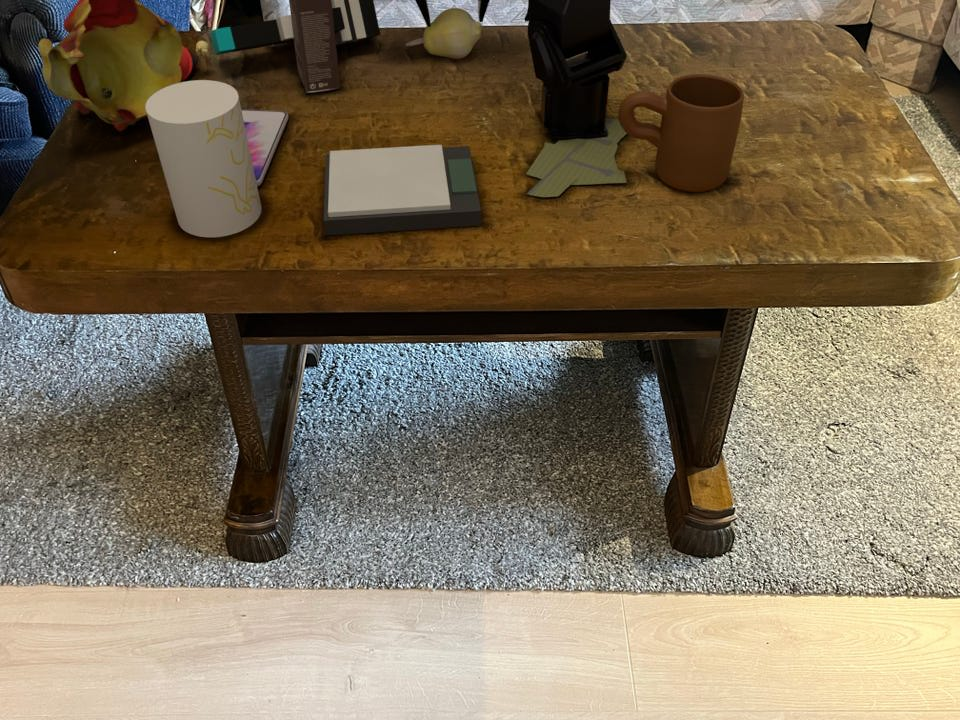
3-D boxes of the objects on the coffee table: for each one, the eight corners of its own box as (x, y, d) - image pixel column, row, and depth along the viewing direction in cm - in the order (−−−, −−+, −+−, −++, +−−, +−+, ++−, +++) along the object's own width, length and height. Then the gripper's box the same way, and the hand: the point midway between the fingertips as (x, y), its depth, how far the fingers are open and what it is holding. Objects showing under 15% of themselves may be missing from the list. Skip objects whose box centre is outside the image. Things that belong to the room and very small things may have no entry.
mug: (613, 193, 90) (623, 108, 84) (609, 154, 96) (618, 71, 89) (733, 195, 90) (752, 110, 83) (721, 156, 95) (739, 73, 89)
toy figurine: (151, 85, 110) (141, 85, 103) (143, 47, 109) (132, 45, 102) (216, 78, 112) (211, 78, 104) (210, 41, 110) (204, 38, 103)
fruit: (408, 43, 116) (483, 31, 115) (410, 75, 113) (487, 63, 112) (398, 6, 111) (477, -7, 110) (400, 39, 108) (481, 26, 107)
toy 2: (205, 25, 111) (356, 1, 117) (215, 66, 113) (365, 40, 119) (213, 15, 102) (377, -11, 108) (225, 60, 104) (385, 32, 110)
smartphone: (289, 110, 101) (259, 182, 90) (290, 117, 102) (260, 189, 91) (226, 108, 101) (188, 179, 90) (227, 115, 102) (190, 186, 91)
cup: (242, 241, 84) (216, 127, 76) (163, 231, 86) (128, 118, 77) (273, 195, 90) (252, 84, 82) (198, 186, 91) (170, 76, 83)
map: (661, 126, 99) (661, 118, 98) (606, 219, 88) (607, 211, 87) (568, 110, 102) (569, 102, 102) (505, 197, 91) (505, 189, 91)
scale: (469, 160, 95) (469, 140, 93) (481, 225, 86) (481, 204, 84) (327, 169, 94) (325, 149, 92) (325, 235, 85) (322, 214, 83)
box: (343, 88, 106) (331, -13, 98) (305, 94, 105) (290, -8, 97) (333, 67, 110) (321, -33, 102) (297, 72, 109) (281, -28, 101)
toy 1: (221, 65, 103) (131, 14, 105) (174, -13, 89) (71, -71, 90) (146, 168, 101) (56, 113, 103) (85, 104, 86) (-19, 43, 88)
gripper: (518, -141, 106) (520, -10, 117) (362, -128, 105) (379, 3, 116) (531, -111, 98) (532, 27, 109) (362, -97, 97) (380, 40, 108)
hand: (454, 23), depth 111 cm, fingers closed on fruit, 6 cm apart
